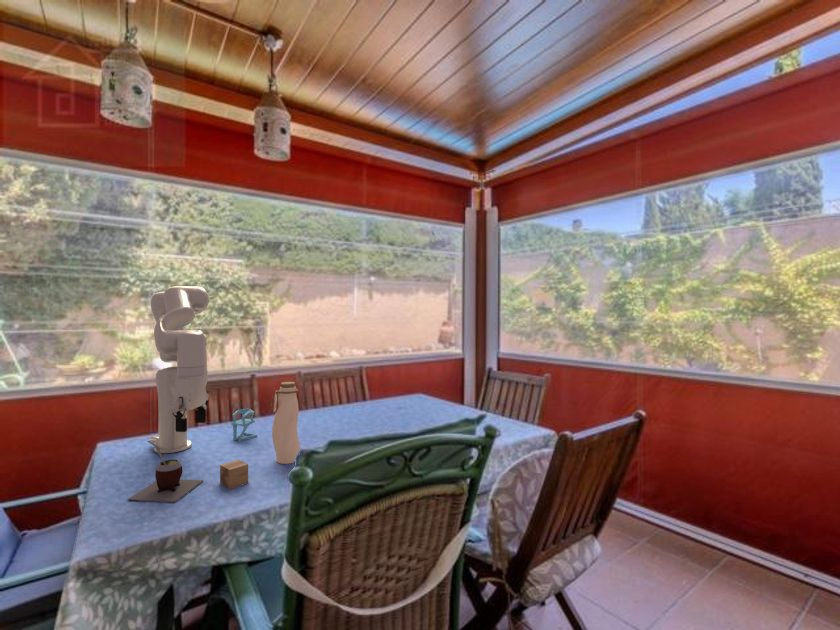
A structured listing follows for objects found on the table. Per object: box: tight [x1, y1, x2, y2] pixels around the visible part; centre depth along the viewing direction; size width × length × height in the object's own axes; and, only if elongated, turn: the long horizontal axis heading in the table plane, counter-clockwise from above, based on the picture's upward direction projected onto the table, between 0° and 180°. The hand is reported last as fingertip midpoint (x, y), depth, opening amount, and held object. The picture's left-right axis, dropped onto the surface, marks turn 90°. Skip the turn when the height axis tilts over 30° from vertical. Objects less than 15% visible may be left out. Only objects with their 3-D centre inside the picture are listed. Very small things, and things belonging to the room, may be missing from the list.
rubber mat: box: [127, 478, 204, 503], centre depth 127 cm, size 14×14×1 cm
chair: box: [231, 407, 258, 442], centre depth 176 cm, size 8×8×12 cm
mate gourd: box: [147, 440, 184, 493], centre depth 127 cm, size 8×8×15 cm
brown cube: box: [219, 459, 249, 490], centre depth 133 cm, size 6×6×6 cm
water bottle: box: [270, 381, 301, 465], centre depth 152 cm, size 10×9×28 cm
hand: (191, 426), depth 131 cm, fingers open, 9 cm apart
